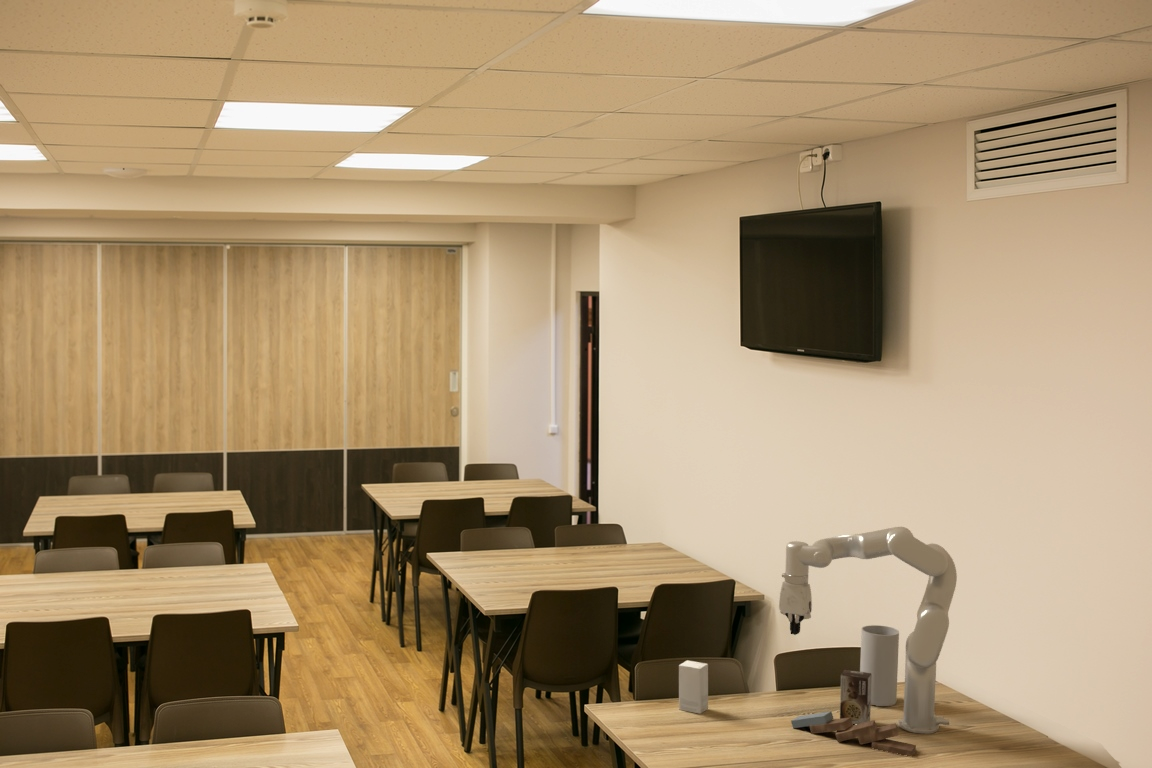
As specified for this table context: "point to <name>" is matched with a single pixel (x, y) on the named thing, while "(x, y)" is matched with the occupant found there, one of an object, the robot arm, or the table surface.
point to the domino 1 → (832, 726)
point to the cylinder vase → (880, 662)
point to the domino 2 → (856, 731)
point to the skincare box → (693, 687)
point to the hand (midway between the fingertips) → (794, 633)
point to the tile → (812, 719)
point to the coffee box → (855, 696)
